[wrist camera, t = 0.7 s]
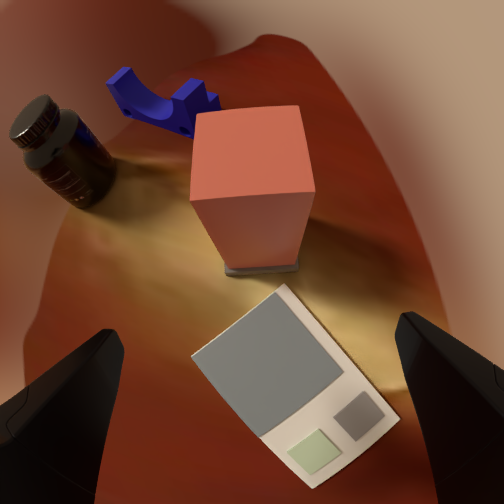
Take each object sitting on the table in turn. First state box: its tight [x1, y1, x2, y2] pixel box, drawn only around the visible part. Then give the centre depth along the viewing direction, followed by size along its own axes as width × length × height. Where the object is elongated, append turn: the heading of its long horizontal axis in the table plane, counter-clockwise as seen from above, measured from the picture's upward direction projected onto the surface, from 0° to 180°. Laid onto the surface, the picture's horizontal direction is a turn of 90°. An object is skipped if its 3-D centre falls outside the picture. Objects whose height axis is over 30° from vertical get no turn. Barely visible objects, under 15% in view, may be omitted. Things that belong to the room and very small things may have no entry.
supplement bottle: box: [9, 94, 116, 208], centre depth 21 cm, size 7×7×12 cm
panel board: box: [191, 283, 400, 489], centre depth 19 cm, size 15×9×1 cm, turn 39°
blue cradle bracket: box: [106, 67, 221, 139], centre depth 26 cm, size 12×4×6 cm, turn 59°
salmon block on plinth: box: [190, 106, 315, 276], centre depth 17 cm, size 6×6×12 cm
